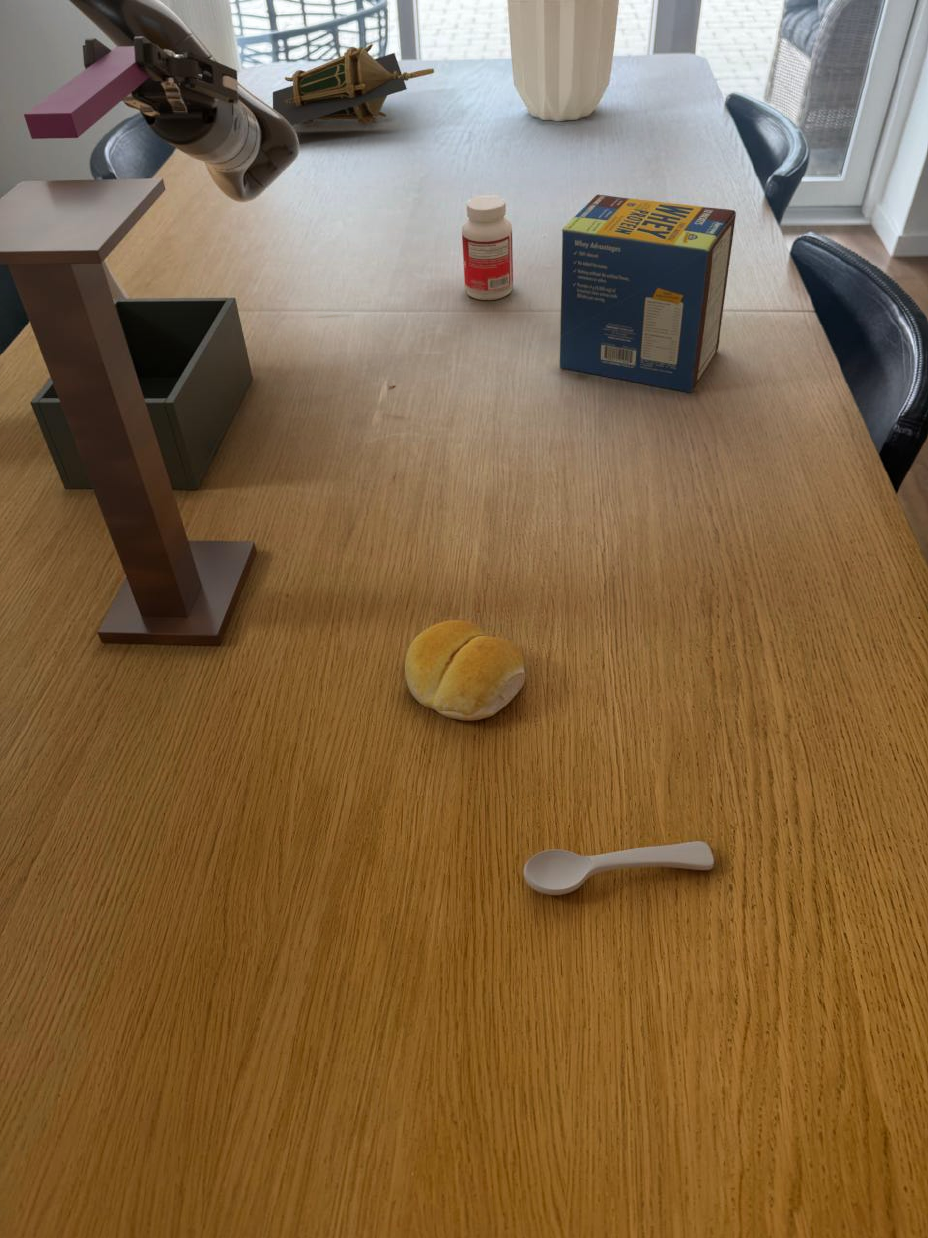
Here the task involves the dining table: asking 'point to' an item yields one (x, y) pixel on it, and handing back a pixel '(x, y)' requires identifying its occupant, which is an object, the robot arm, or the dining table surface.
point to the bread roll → (463, 670)
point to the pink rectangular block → (86, 96)
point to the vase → (562, 54)
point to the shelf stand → (114, 408)
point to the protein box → (644, 290)
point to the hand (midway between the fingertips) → (115, 51)
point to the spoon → (608, 864)
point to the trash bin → (169, 384)
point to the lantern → (343, 88)
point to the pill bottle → (487, 249)
